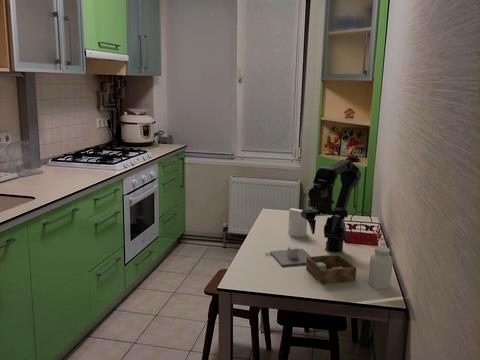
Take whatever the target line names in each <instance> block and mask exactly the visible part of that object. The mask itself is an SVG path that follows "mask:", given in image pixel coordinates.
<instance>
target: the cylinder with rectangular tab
mask: <svg viewBox="0 0 480 360" xmlns="http://www.w3.org/2000/svg"><path fill="white" fill-rule="evenodd" d="M302 210H303V209H298V208H293V207H291V208H289V211H288V213H289V214H288V230H287V231H288V232H287V233H288V235H289V236H292V237H295V238H296V237H297V238H300V237H301V238H302V236H303V237H306V236H307V232H308V231H307V230H308V220H306V219H305V218H303V217H302V216H301V212H302Z"/></svg>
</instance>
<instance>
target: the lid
mask: <svg viewBox="0 0 480 360" xmlns="http://www.w3.org/2000/svg"><path fill="white" fill-rule="evenodd" d="M304 250H305V249H304V248H299V247H298V246H297V245H288V246H287V249H282V250H272V251H269V253H270V255H271V256H270V257H273V258H274V260H276V262H277V263H278V264H279V265H280V266H281V267H295V266H306V263H307V257H312V256H311V255H310V254H309V253H308V252H307V251H306V250H305V251H306V252H305V251H304Z"/></svg>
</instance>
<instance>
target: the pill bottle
mask: <svg viewBox="0 0 480 360" xmlns="http://www.w3.org/2000/svg"><path fill="white" fill-rule="evenodd" d="M390 254H391V249H390V248H389V247H386V246H382V245H380V246H375V248H374V253H373V254H371V256H370V259H369V266H368V268H369V269H368V277H367V285H368V286H369V287H371V288H373V289H376V290H388V289H390V287H391V279H392V271H393V262H394V261H393V260H394V259H393V257H392V256H391V255H390Z"/></svg>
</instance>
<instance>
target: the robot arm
mask: <svg viewBox="0 0 480 360" xmlns="http://www.w3.org/2000/svg"><path fill="white" fill-rule="evenodd" d="M339 175H340V176H339ZM338 176H339V177H340V178H339V179H340V182H341V183H340V184H341V187H340V191H339V194H338V197H337V201H336V204H335V200H334V199H333V198H334V197H333V196H334V186H335V185H336V181H337V179H338ZM361 177H362V172H361V170H360V168H359V167H358V166H357V165H355V164H354V162H353V161H351V160H349V159H340V160H339V161H337V162H336V163H334V164H332V165H320V166H319V167H318V169H317V170H316V173H315V176H314V178H313V182H312V184H313V186H312V188H310V189H309V190H308V192H307V196H308V198H309V200H308V201H307V202H308V203H307V205H308V209H301V210H302V212H301V216H302V217H303V218H305V219H306V220H307V223H308V224H309V227H310V231H311V233H312V235H315V231H316V223H317V222H316V221H317V220H316V217H324V216H328V217H327V218H326V220H325V221H326V222H325V224H324V226H323V235H324V238H326V239H327V240H326V242H325V248H324V250H325V251H326V252H330V253H340V252H344V253H345V251H343V249H344V242H345V241H347V238H348V232H347V230H346V229H345V228H346V224H345V219H346V218H348V217H349V211H348V209H347V208H348V205H349V202H350V198H351V194H352V191H353V189H354V188H356V186H357V185H358V184H359V183H360V180H361ZM333 204H335V207H333ZM309 208H312V209H309ZM314 210H315V211H314ZM329 216H330V217H329Z"/></svg>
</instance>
